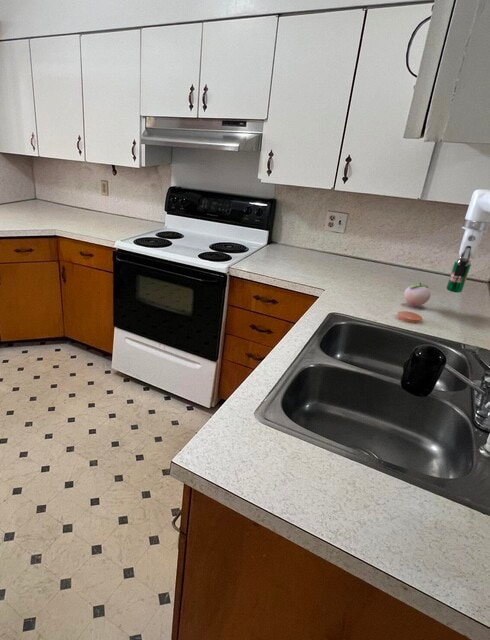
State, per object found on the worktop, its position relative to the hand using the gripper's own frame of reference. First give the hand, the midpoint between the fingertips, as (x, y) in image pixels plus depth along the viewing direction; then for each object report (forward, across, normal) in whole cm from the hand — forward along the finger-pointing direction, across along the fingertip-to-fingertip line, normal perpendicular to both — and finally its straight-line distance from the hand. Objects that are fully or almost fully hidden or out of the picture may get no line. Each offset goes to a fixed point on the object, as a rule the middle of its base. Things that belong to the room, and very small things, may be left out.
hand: (459, 273), depth 158 cm
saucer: (+16, -16, +11) cm, 25 cm away
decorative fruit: (+17, 0, +11) cm, 20 cm away
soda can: (+7, 0, 0) cm, 7 cm away
